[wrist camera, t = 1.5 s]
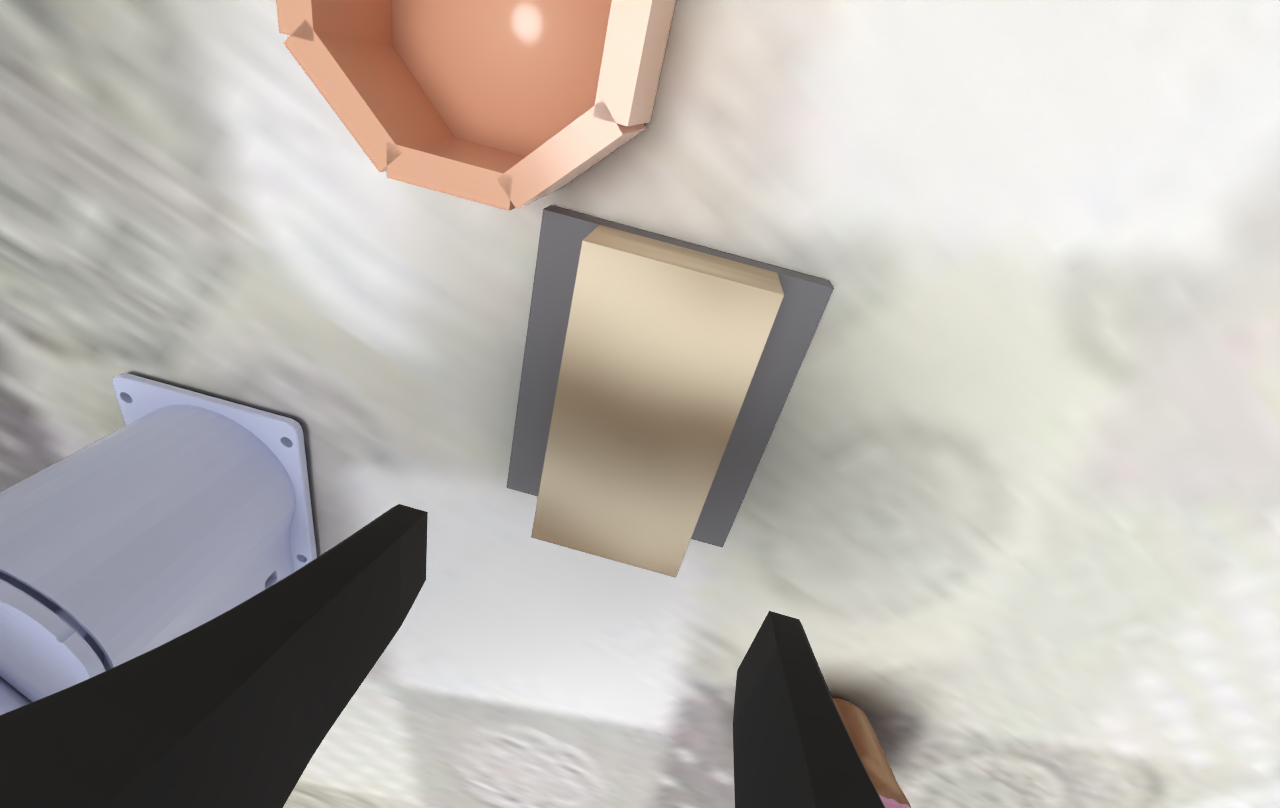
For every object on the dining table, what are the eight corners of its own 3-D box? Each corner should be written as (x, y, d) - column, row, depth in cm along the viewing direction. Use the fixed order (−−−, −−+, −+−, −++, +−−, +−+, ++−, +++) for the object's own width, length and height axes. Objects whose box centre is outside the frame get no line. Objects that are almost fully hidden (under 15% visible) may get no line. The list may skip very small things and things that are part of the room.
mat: (722, 533, 22) (722, 547, 21) (513, 475, 22) (506, 487, 22) (829, 280, 17) (833, 288, 16) (551, 205, 17) (543, 209, 16)
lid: (680, 535, 21) (675, 577, 20) (548, 499, 22) (531, 537, 20) (776, 272, 16) (784, 295, 14) (599, 224, 16) (582, 240, 14)
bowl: (631, 209, 16) (606, 236, 13) (382, 142, 17) (290, 151, 13) (706, -140, 12) (697, -236, 9) (376, -227, 13) (243, -355, 9)
